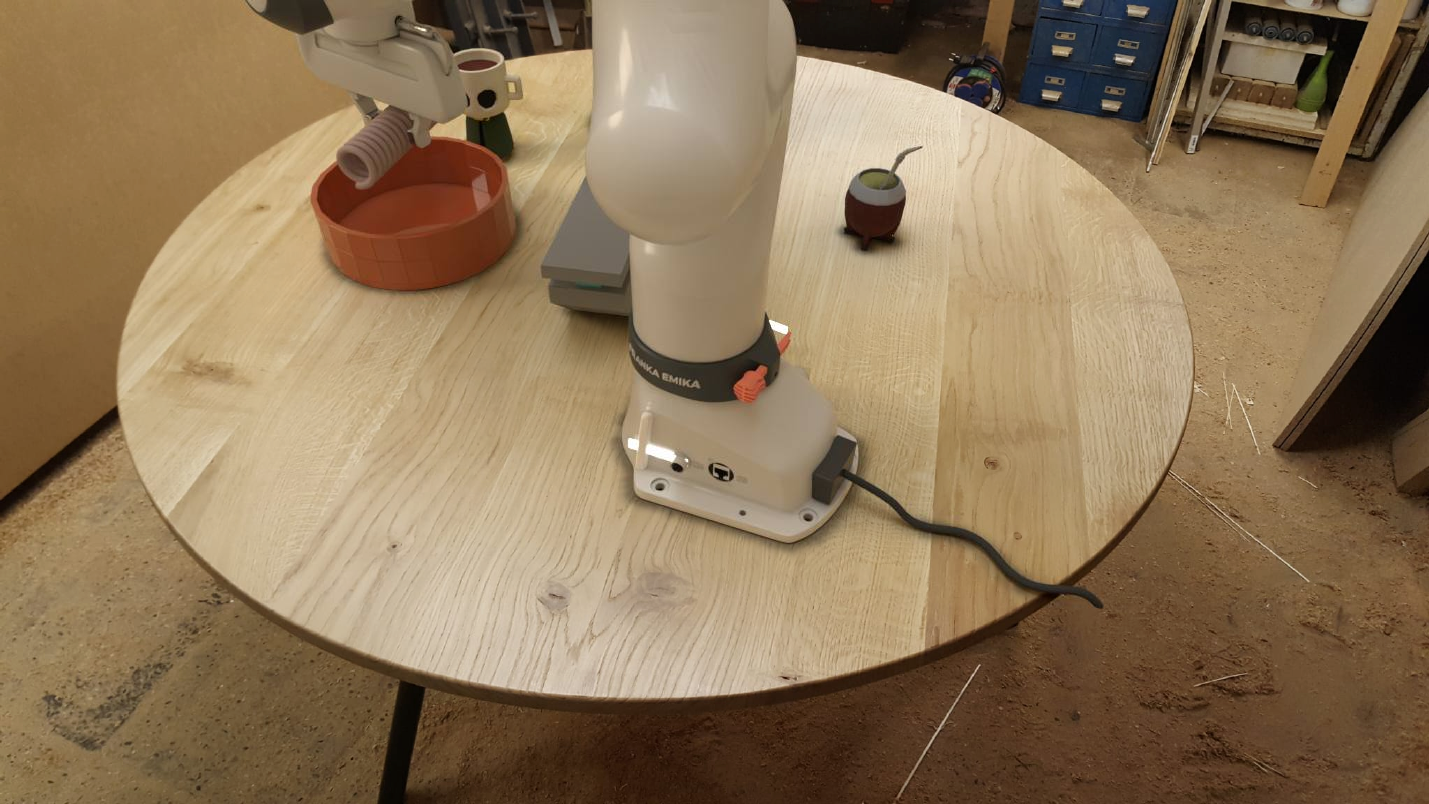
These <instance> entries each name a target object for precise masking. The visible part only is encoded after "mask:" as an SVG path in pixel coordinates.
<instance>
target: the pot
mask: <svg viewBox="0 0 1429 804" xmlns="http://www.w3.org/2000/svg"><path fill="white" fill-rule="evenodd" d="M430 137H431V142H430V144H429V145H427V146H425V147H424V148H420V147H417V146H415V145H414V146H413V147H412V148H411V149H410V150H409V151H408V152H407V153H406V154H404V156H403V157H402V158H401V159H399V161H398V162H397V163H395V164H394V166H393V167H391V168H390V169H389V170H388V172H386V173H385V174H384V175H383V176H382V177H381V178H380V179H379V180H378V181H377V182H375V184H374V185H373V186H372V187H370V188H368V189H364V190H360V189H356V186H355V185H356V182H355V181H353V180H351V179H350V178H349V177H347V176H346V175H345V174H344V173H343V172H342V170H341V169H340V167H339V165H338V163H337V160H335V161H334V162H332V163H331V164H330V165H329V166H328V167H326V168H325V169H324V170H323V171H322V172H321V173H319V176H318V177H317V179H316V180H315V182H314V183H313V185H312V186H311V191H310V192H311V193H310V200H309V202H310V205H311V207H312V210H313V213H314V216H315V219H316V222H317V224H318V227H319V230H320V233H321V236H322V238H323V242H324V244H325V247H326V249H327V252H328V255H329V257H330V260H331V261H332V264H333V266H335V268H337V270H338V271H339V272H340V273H342V274H343V275H344V276H345V277H347V278H349V279H351V280H353V281H354V282H357V283H360V284H362V285H365V286H368V287H372V288H377V289H381V290H382V289H384V290H390V291H391V290H392V291H418V290H429V289H435V288H440V287H443V286H447V285H452V284H455V283H458V282H461V281H464V280H466V279H469V278H471V277H473V276H475V275H477V274H479V273H481V272H483V271H485V270H486V269H488V268H489V267H490V266H491V267H492V266H493V264H495V263H496V262H498V261H499V259H501V258H502V257H503V256H504V255H505V254H506V253H507V251H508V250H509V249H510V247H511V245H512V243H513V242H514V239H515V236H516V232H517V231H516V230H517V229H516V228H517V227H516V225H517V224H516V218H515V211H514V205H513V199H512V193H511V186H510V179H509V173H508V167H507V166H506V165H505V163H504V162H503V161H502V159H500V158H499V157H498V156H497V155H496V154H494V153H493V152H491V151H490V150H488V149H487V148H485V147H483V146H480V145H478V144H475V143H472V142H469V141H467V140H466V139H461V138H455V137H449V136H433V135H430Z"/></svg>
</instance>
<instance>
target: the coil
mask: <svg viewBox="0 0 1429 804" xmlns="http://www.w3.org/2000/svg"><path fill="white" fill-rule="evenodd" d="M437 124H439V123H438V122H435V121H432V122H431V125H430V127H429V132H430V131H431V130H432V129H433V128H434V127H435V126H436V125H437ZM413 125H414V120H411V119H410V117H409V113H408V112H407V111H405V110H402V109H399V108H396V107H394V106H391V105H388V106H386V107H385V108H384V109H383V110H382V112H381V113H380V114H379V115H377V116H376V117H375V118H374V119H373V120H371V121H370V122H369V123H368V124H367V125H366V126H365V125H364V127H362V128H361V129H360V130H359V131H358V132H356V133H355V134H354V135H353V136H352V137H350V138H349V139H348V140H347V141H346V142H345V143H343V145H341V146H340V147H339V148H337V151H336V155H335V159H336V161H337V163H338V165H339V167H340V169H341V170H342V172H343V173H344V174H345V175H346V176H347V177H349V178H350V179H351V180H353V181H355V182H356V185H355V186H356V189H360V190H364V189H368V188H370V187H372V186H373V185H374V184H375V182H377V181H378V180H379V179H380V178H381V177H382V176H383V175H384V174H385V173H386V172H388V170H389V169H390V168H391V167H393V166H394V164H395V163H397V162H398V161H399V159H401V158H402V157H403V156H404V154H406V153H407V152H408V151H409V150H410V149H411V148H412V147H413V146H414V145H412V144H410V142H409V137H408V134H407V130H409V129H411V128H413Z"/></svg>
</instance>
